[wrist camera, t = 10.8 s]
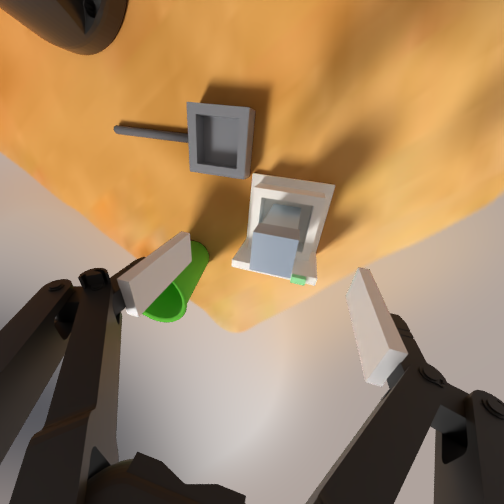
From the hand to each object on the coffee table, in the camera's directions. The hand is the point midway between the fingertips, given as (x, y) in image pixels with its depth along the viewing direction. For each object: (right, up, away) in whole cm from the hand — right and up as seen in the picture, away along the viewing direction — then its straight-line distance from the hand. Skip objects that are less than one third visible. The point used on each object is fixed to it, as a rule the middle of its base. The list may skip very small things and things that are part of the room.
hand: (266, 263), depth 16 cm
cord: (-14, +16, +11) cm, 24 cm away
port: (+3, +6, +12) cm, 13 cm away
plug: (+3, +5, +11) cm, 13 cm away
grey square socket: (-4, +14, +9) cm, 18 cm away
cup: (-11, +1, +18) cm, 21 cm away
